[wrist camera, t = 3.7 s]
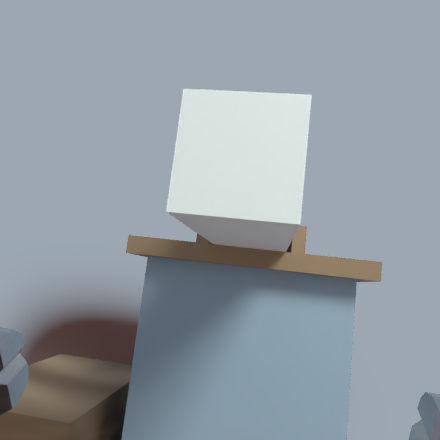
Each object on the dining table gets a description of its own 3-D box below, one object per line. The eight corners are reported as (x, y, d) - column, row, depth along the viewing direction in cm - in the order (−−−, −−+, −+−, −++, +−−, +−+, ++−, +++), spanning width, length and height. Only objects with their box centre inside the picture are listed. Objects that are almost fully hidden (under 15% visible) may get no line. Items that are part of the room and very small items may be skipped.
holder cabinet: (348, 871, 16) (383, 234, 20) (46, 772, 18) (132, 209, 22) (309, 582, 32) (333, 255, 36) (149, 546, 34) (189, 240, 38)
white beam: (300, 224, 11) (311, 95, 12) (166, 211, 12) (183, 88, 12) (279, 264, 34) (283, 220, 35) (235, 259, 35) (240, 216, 36)
